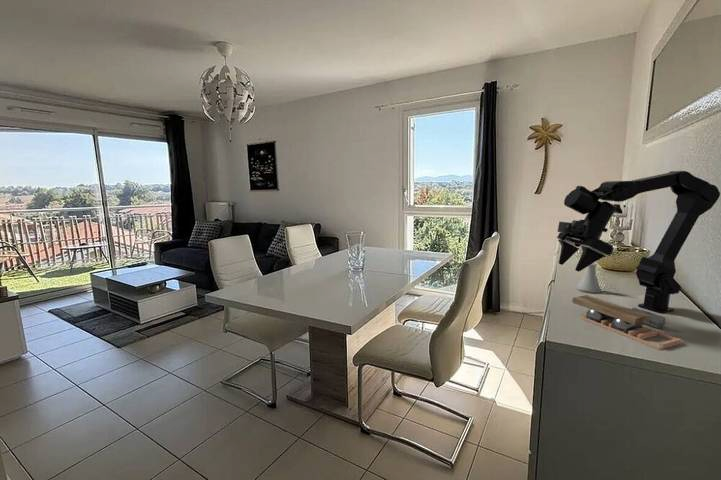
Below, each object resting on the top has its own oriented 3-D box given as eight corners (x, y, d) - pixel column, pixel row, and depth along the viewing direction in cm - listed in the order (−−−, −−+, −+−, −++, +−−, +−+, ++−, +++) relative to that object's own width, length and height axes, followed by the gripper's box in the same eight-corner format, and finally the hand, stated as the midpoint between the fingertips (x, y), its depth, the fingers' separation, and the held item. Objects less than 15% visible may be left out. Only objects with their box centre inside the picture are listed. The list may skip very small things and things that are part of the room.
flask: (592, 294, 118) (595, 267, 116) (572, 288, 125) (574, 262, 123) (605, 291, 121) (608, 264, 119) (585, 286, 127) (587, 260, 126)
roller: (635, 318, 98) (637, 306, 98) (664, 327, 92) (666, 315, 91) (627, 320, 97) (629, 308, 96) (656, 329, 90) (658, 317, 90)
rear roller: (604, 318, 99) (601, 306, 100) (616, 319, 96) (613, 306, 97) (587, 322, 97) (584, 309, 98) (599, 323, 94) (596, 310, 94)
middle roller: (629, 327, 93) (628, 314, 93) (643, 329, 90) (642, 316, 90) (612, 331, 91) (610, 318, 91) (626, 334, 87) (624, 320, 88)
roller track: (603, 314, 101) (603, 310, 101) (683, 343, 83) (684, 338, 83) (580, 318, 98) (581, 314, 98) (659, 349, 80) (660, 345, 80)
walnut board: (586, 300, 104) (586, 295, 103) (649, 320, 88) (650, 315, 88) (572, 302, 102) (572, 297, 101) (634, 324, 86) (635, 318, 86)
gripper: (555, 207, 109) (530, 250, 111) (590, 211, 91) (560, 262, 93) (586, 222, 109) (561, 265, 112) (628, 229, 91) (596, 279, 93)
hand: (568, 267), depth 102 cm, fingers open, 9 cm apart
